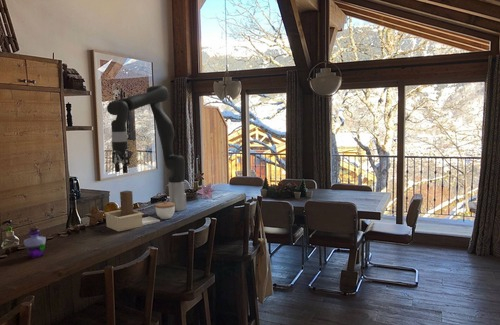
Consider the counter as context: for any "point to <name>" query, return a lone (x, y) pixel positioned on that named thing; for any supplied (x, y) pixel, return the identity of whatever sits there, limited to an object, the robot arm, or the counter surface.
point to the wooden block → (126, 203)
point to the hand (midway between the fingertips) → (121, 172)
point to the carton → (123, 220)
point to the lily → (206, 191)
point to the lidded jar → (165, 209)
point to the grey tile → (149, 220)
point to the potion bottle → (35, 243)
